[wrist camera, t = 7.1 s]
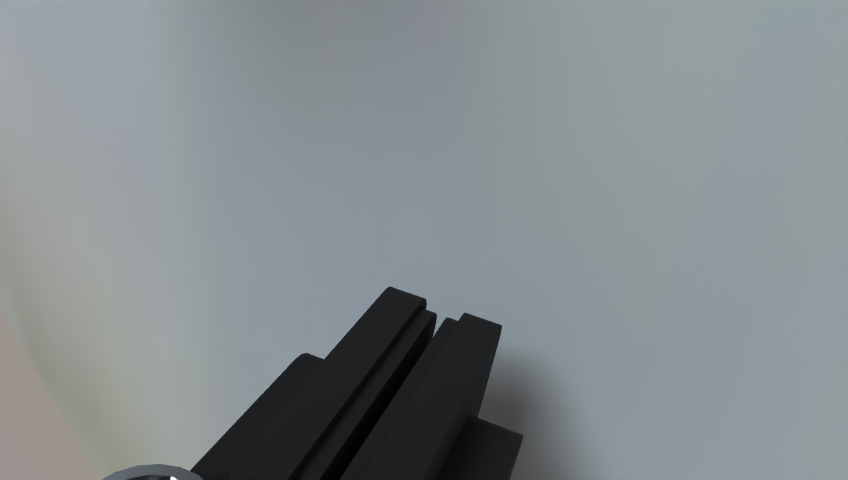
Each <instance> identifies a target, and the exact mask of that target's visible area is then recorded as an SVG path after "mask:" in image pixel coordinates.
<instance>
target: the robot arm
mask: <svg viewBox="0 0 848 480" xmlns="http://www.w3.org/2000/svg"><path fill="white" fill-rule="evenodd" d="M426 304H427V301H426V299H424V298H422V297H419V296H416V295H413V294H410V293H407V292H404V291H401V290H399V289H396V288H393V287H388V288H387V289H386V290H385V291H384V292H383V293H382V294H381V295H380V296H379V297H378V299H377V300H376V301H375V302H374V303H373V304H372V305H371V307H370V308H369V309H368V310H367V311H366V312H365V313H364V315H363V316H362V317H361V318H360V319H359V320H358V321H357V323H356V324H355V325H354V326H353V327H352V328H351V329H350V331H349V332H348V333H347V334H346V335H345V336H344V337H343V338H342V340H341V341H340V342H339V343H338V344H337V345H336V346H335V348H334V349H333V350H332V351H331V352H330V353H329V354H328V356H327V357H326V358H325V359H321V358H319V357H316V356H313V355H311V354H308V353H305V354H301V355H300V356H299V357H298V358H296V359H295V360H294V361H293V362H292V363H291V364H290V365H289V366H288V367H287V369H286V370H285V371H284V372H283V373H282V374H281V375H280V376H279V377H278V378H277V379H276V380H275V381H274V382H273V383H272V384H271V385H270V387H269V388H268V389H267V390H266V391H265V392H264V393H263V394H262V395H261V396H260V397H259V398H258V399H257V400H256V401H255V402H254V403H253V405H252V406H251V407H250V408H249V409H248V410H247V411H246V412H245V413H244V414H243V415H242V416H241V417H240V418H239V419H238V420H237V421H236V423H235V424H234V425H233V426H232V427H231V428H230V429H229V430H228V431H227V432H226V433H225V434H224V435H223V436H222V437H221V438H220V439H219V441H218V442H217V443H216V444H215V445H214V446H213V447H212V448H211V449H210V450H209V451H208V452H207V453H206V454H205V455H204V456H203V457H202V459H201V460H200V461H199V462H198V463H197V464H196V465H195V466H194V467H193V468H192V469H191V470H190V471H188V470H186V469H183V468H181V467H176V466H169V465H163V464H153V465H140V466H134V467H131V468H128V469H124V470H121V471H117V472H115V473H113V474H111V475H109V476H107V477H105V478H104V479H102V480H510V477H511V474H512V471H513V468H514V464H515V461H516V458H517V455H518V452H519V449H520V445H521V442H522V439H523V435H521V434H518V433H516V432H513V431H510V430H508V429H505V428H502V427H500V426H497V425H495V424H492V423H489V422H487V421H484V420H481V419H479V418H478V414H479V410H480V407H481V403H482V400H483V396H484V392H485V389H486V385H487V382H488V378H489V374H490V371H491V367H492V363H493V360H494V356H495V353H496V349H497V345H498V342H499V338H500V334H501V329H502V325H499V324H496V323H493V322H491V321H488V320H485V319H482V318H479V317H476V316H473V315H470V314H468V313H464V314H463V315H462V316H461V318H460V319H459V321H456V320H454V319H451V318H448V317H447V318H446V319H445V320H444V321H443V323H442V325H441V326H440V328H439V329H438V331H437V332H436V334H435V335H434V337H433V333H434V329H435V325H436V319H437V315H436V313H434V312H431V311H428V310H426Z"/></svg>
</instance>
